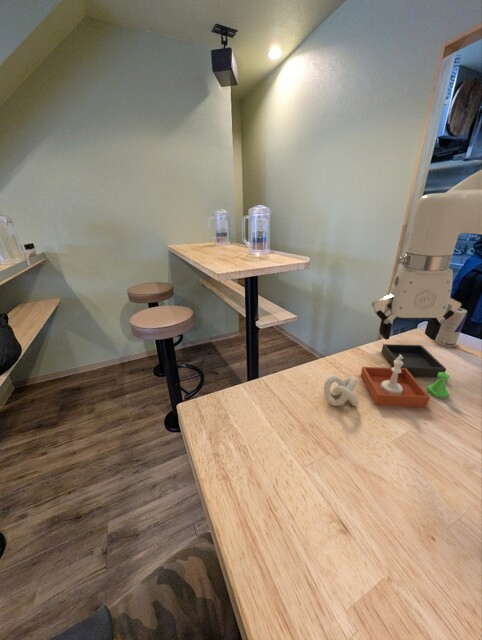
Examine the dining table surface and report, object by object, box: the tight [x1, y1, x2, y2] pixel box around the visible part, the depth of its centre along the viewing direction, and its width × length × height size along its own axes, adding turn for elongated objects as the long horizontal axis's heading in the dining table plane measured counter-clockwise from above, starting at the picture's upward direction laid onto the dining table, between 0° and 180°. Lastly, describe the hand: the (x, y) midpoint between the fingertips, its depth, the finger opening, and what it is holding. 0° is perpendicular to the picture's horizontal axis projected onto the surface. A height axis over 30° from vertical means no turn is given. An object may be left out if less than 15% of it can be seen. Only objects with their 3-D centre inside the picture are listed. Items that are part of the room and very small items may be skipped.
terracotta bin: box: [360, 366, 431, 408], centre depth 63 cm, size 11×11×3 cm
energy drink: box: [435, 307, 468, 348], centre depth 81 cm, size 5×5×12 cm
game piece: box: [427, 371, 450, 399], centre depth 61 cm, size 4×4×6 cm
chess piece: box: [380, 355, 403, 395], centre depth 61 cm, size 5×5×10 cm
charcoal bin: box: [380, 343, 447, 379], centre depth 73 cm, size 11×12×3 cm
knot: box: [323, 375, 360, 407], centre depth 60 cm, size 8×8×6 cm
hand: (406, 336), depth 57 cm, fingers open, 9 cm apart
